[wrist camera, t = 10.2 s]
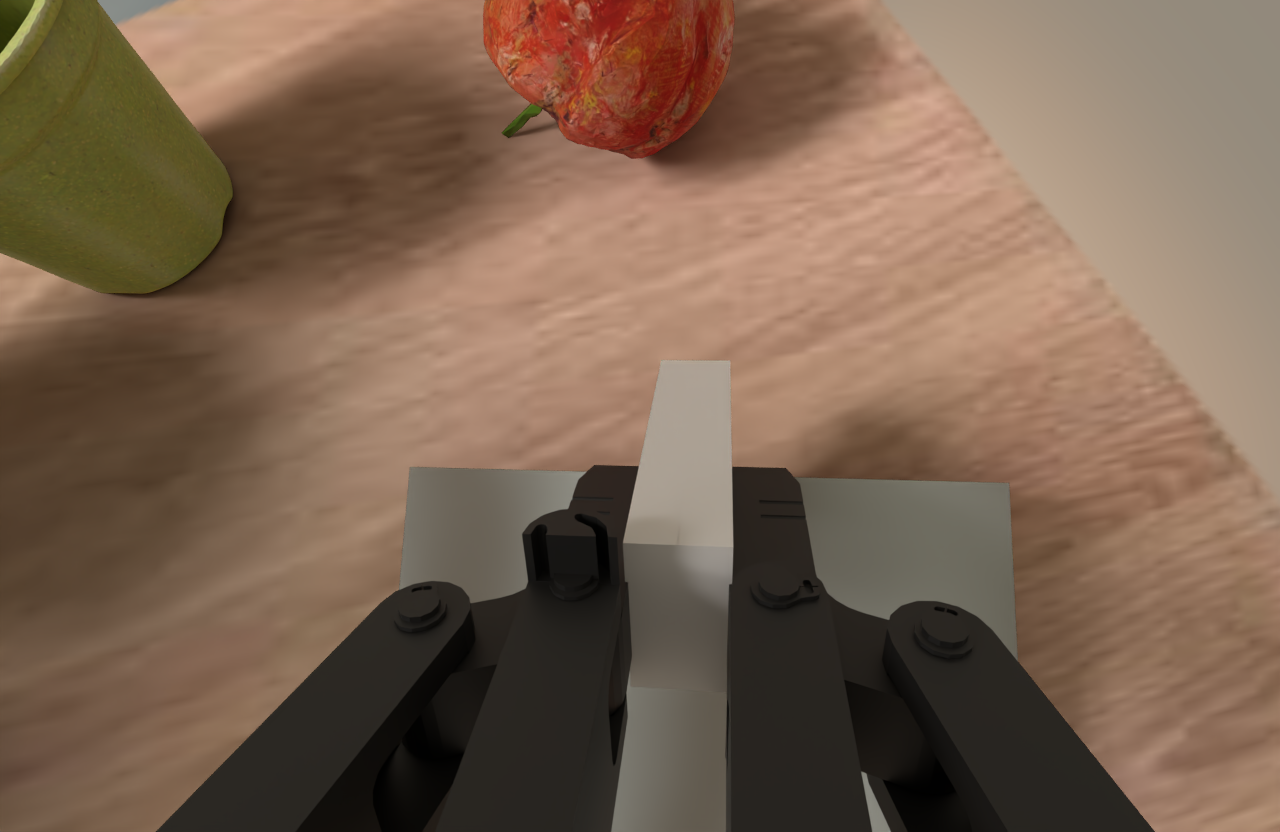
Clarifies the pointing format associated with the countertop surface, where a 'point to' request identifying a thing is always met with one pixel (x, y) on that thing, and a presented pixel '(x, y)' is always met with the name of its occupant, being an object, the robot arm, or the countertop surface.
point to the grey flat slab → (844, 561)
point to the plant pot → (98, 156)
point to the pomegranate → (612, 65)
